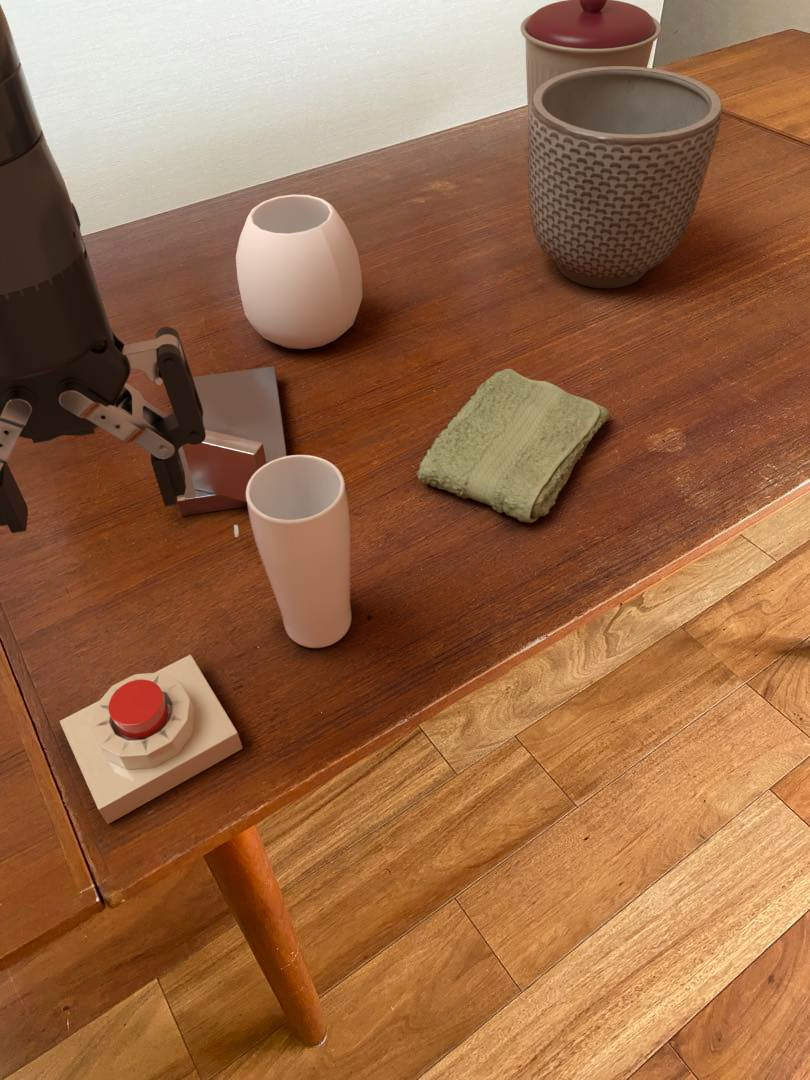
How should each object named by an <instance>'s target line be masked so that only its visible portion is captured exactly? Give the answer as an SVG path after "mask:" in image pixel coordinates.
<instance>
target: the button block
mask: <svg viewBox="0 0 810 1080" xmlns="http://www.w3.org/2000/svg"><path fill="white" fill-rule="evenodd" d="M134 680H149V681H152V682H154V683H156V684H157V685H158V686H159V687H160V688H161V690H162V693H163V695H164V697H165V699H166V702H167V704H168V707H169V714H168V718H167V720H166V722H165V724H164V725H163V726H162V727H161V729H159V730H158V731H157V732H156V733H154V734H153V735H150V736H148V737H145V738H140V739H132V738H128V737H125V736H124V735H122V734H121V733H120V732H119V731H118V729H117V728H116V726H115V724H114V722H113V720H112V718H111V716H110V714H109V702H110V699H111V697H112V695H113V694H114V693H115V691H116V690H117V689H119V688H120V687H121V686H122V685H124V684H126V683H128V682H131V681H134ZM59 724H60V726H61V728H62V730H63V733H64V735H65V737H66V740H67V742H68V744H69V746H70V749H71V751H72V754H73V755H74V758H75V760H76V762H77V765H78V767H79V769H80V772H81V774H82V776H83V779H84V781H85V783H86V786H87V787H88V790H89V792H90V794H91V796H92V799H93V802H94V803H95V806H96V808H97V810H98V812H99V813H100V815H101V816H102V818H103V820H104V821H105V822H106V825H109V824H111V823H113V822H115V821H117V820H119V819H120V818H121V817H124V816H125V815H127V814H129V813H131V812H133V811H135V810H137V808H140V807H141V806H144V805H145V804H147V803H148V802H150V801H152V800H154V799H156V798H157V797H159V796H161V795H163V794H165V793H166V792H168V791H170V790H171V789H174V788H175V787H177V786H179V785H180V784H182V783H184V782H186V781H188V780H190V779H191V778H193V777H195V776H197V775H198V774H200V773H202V772H204V771H205V770H207V769H209V768H211V767H213V766H214V765H216V764H217V763H219V762H221V761H223V760H225V759H227V758H228V757H230V756H232V755H234V754H236V753H238V752H239V751H241V750H243V744H242V741H241V739H240V735H239V733H238V731H237V729H236V727H235V726H234V724H233V722H232V720H231V719H230V717H229V716H228V713H227V712H226V711H225V709H224V707H223V706H222V704H221V702H220V701H219V699H218V697H217V695H216V694H215V692H214V690H213V689H212V687H211V686H210V684H209V682H208V681H207V679H206V677H205V676H204V674H203V672H202V671H201V669H200V667H199V666H198V664H197V662H196V660H195V659H194V657H193V655H192V654H187V655H186V656H184V657H182V658H180V659H178V660H177V661H175V662H172V663H170V664H169V665H167V666H164V667H162V668H161V669H159V670H156V671H155V672H149V673H148V672H145V673H136V674H135V673H134V674H132V675H131V676H129V677H126V678H124V679H123V680H121V681H118V682H117V683H115V684H112V685H111V686H110V687H109V689H108V690H107V691H106V692H105V693H104V695H103V696H102V697H101V698H100V699H99V700H97V701H96V702H94V703H92V704H90V705H88V706H86V707H84V708H82V709H80V710H77V711H76V712H74V713H72V714H70V715H68V716H66V717H64V718H63V719H61V720H59Z"/></svg>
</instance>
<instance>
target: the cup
mask: <svg viewBox="0 0 810 1080" xmlns="http://www.w3.org/2000/svg"><path fill="white" fill-rule="evenodd" d="M235 265H236V267H235V268H236V278H237V284H238V289H239V295H240V299H241V305H242V308H243V312H244V316H245V318H246V319H247V320H248V322H249V323H250V325H251V327H252V328H253V330H255V331H256V332H257V333H258V334H259V335H260V336H261V337H262V338H263V339H265V340H267V341H269V342H270V343H273V344H275V345H278V346H281V347H284V348H286V349H296V350H307V349H313V348H314V349H315V348H321V347H323V346H326V345H327V344H330V343H332V342H334V341H336V340H337V339H339V338H340V337H341V336H342V335H343V334H344V333H346V332H347V331H348V330H349V329H350V328H351V327H353V325H354V323H355V321H356V317H357V315H358V312H359V310H360V306H361V303H362V300H363V296H364V295H363V294H364V293H363V275H362V269H361V264H360V259H359V253H358V250H357V246H356V245H355V242H354V239H353V236H352V235H351V233H350V231H349V229H348V227H347V225H346V223H345V221H344V219H342V217H341V216H340V214H339V213H338V212H337V210H336V209H335V207H334V206H333V204H331V203H329V202H328V201H327V200H325V199H324V198H321V197H317V196H312V195H310V194H287V195H280V196H275V197H272V198H269V199H267V200H264V201H262V202H260V203H259V204H258V205H256V206H254V207H252V209H251V210H250V212H249V214H248V216H247V217H246V220H245V222H244V225H243V227H242V230H241V232H240V235H239V237H238V243H237V248H236V253H235Z"/></svg>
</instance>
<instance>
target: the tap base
mask: <svg viewBox="0 0 810 1080" xmlns="http://www.w3.org/2000/svg"><path fill="white" fill-rule="evenodd" d="M192 377H193V380H194V383H195V386H196V389H197V392H198V396H199V399H200V402H201V405H202V408H203V425H204V428H205V430H209V431H213V432H218V433H222V434H226V435H231V436H235V437H239V438H244V439H248V440H252V441H257V442H261V443H263V447H264V452H265V457H266V462H267V463H269V462H271V461H273V460H275V459H278V458H281V457H285V456H288V449H287V443H286V442H287V441H286V436H285V435H286V434H285V429H284V421H283V414H282V407H281V399H280V392H279V384H278V379H277V373H276V367H275V365H271V366H264V367H256V368H250V369H242V370H234V371H225V372H220V373H212V374H204V375H197V376H192ZM179 454H180V457H181V461H182V465H183V468H184V472H185V482H186V490H185V494H184V495H180V496H177V499H178V505H177V506H178V510H179V512H180V513H179V514H180V515H181V517H186V516H193V515H201V514H206V513H207V514H208V513H213V512H220V511H227V510H234V509H241V508H246V507H247V508H248V506H247V502H246V501H242V500H238V499H234V498H230V497H226V496H222V495H218V494H214V493H210V492H206V491H202V490H198V489H195V488H194V484H193V481H192V477H191V474H190V470H189V467H188V464H187V460H186V457H185V453H184V450H183V446H182V447H180V448H179ZM233 533H234V534H233V535H234V539H238V538H240V530H239V524H234V525H233Z"/></svg>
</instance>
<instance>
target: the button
mask: <svg viewBox="0 0 810 1080" xmlns="http://www.w3.org/2000/svg"><path fill="white" fill-rule="evenodd" d="M109 714H110V716H111V718H112V720H113V722H114V724H115V726H116V728H117V729H118V731H119V732H120V733H121V734H122V735H124V736H125V737H128V738H132V739H140V738H145V737H148V736H150V735H153V734H154V733H156V732H157V731H158V730H159V729H161V727H162V726H163V725H164V724H165V722H166V720H167V718H168V714H169V707H168V704H167V702H166V699H165V697H164V695H163V693H162V690H161V688H160V687H159V686H158V685H157V684H156V683H154V682H152V681H149V680H134V681H131V682H128V683H126V684H124V685H122V686H121V687H120V688H119V689H117V690H116V691H115V693H114V694H113V695H112V697H111V699H110V702H109Z"/></svg>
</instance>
